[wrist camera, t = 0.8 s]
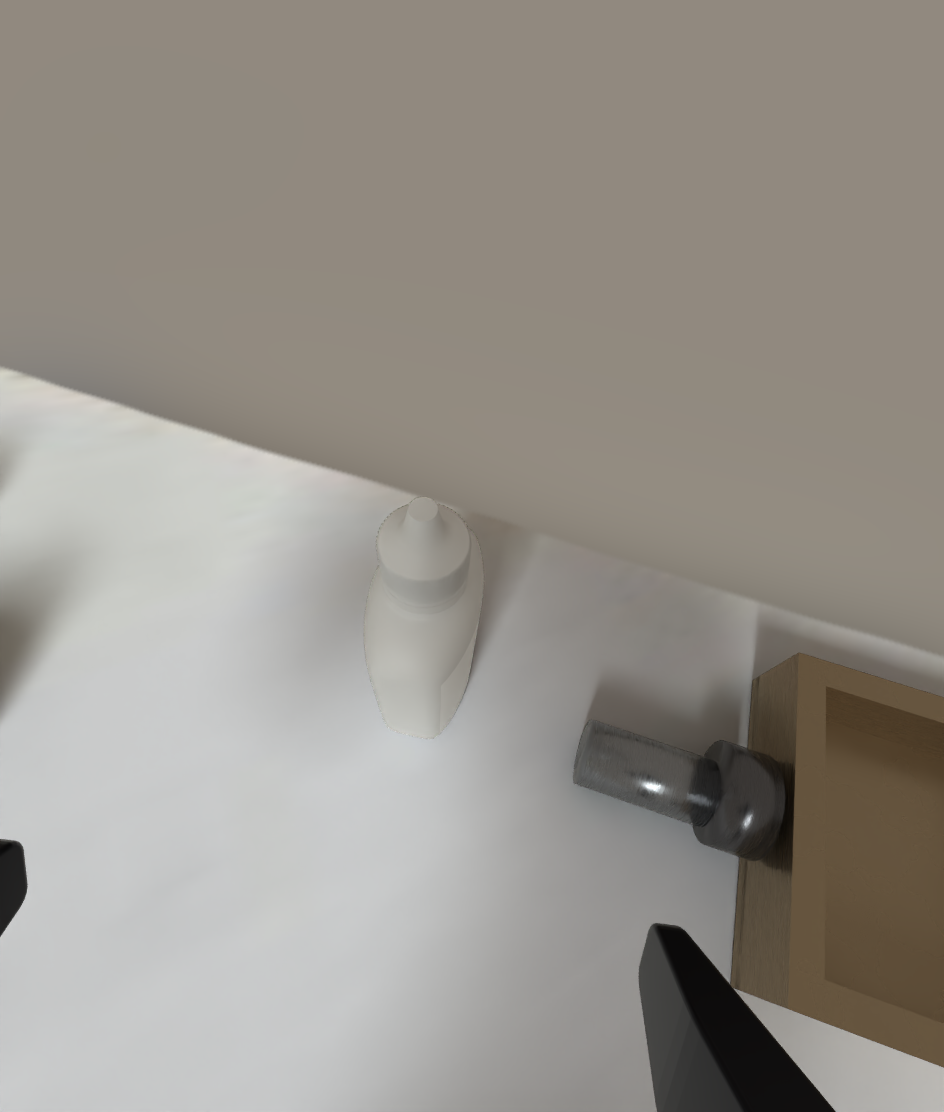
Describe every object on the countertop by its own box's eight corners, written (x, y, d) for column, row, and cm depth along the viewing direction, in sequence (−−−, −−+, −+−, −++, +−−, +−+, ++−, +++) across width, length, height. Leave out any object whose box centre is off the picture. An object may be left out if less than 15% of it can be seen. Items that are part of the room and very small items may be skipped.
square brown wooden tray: (1023, 766, 23) (1113, 750, 20) (1080, 1118, 18) (1217, 1170, 15) (752, 680, 24) (799, 652, 21) (730, 986, 19) (788, 1008, 16)
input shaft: (737, 763, 22) (787, 746, 19) (729, 861, 21) (782, 860, 17) (585, 713, 23) (609, 687, 20) (565, 804, 21) (588, 792, 18)
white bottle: (511, 657, 24) (570, 490, 13) (418, 760, 22) (404, 656, 11) (436, 593, 25) (437, 396, 15) (341, 685, 23) (263, 528, 12)
